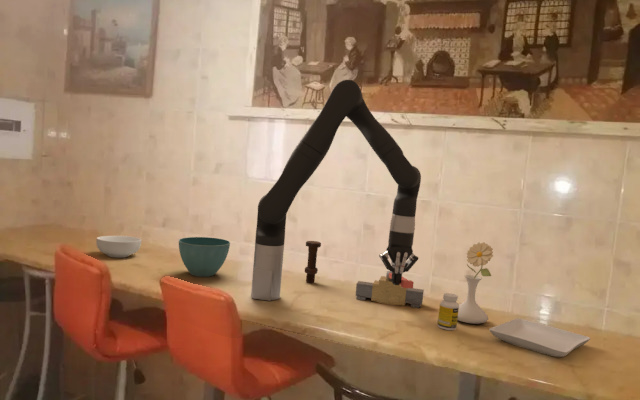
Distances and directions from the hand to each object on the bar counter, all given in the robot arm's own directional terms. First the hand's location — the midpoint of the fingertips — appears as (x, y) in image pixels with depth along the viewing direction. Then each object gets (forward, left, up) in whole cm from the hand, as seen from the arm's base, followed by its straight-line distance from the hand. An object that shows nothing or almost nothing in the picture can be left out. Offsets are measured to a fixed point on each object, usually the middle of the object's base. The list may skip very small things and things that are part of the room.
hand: (395, 284), depth 175 cm
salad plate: (-11, -41, -9) cm, 44 cm away
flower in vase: (+1, -23, -9) cm, 25 cm away
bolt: (+24, +33, -9) cm, 41 cm away
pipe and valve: (+12, +3, -9) cm, 15 cm away
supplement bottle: (-9, -16, -9) cm, 21 cm away
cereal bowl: (+25, +112, -9) cm, 115 cm away
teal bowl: (+14, +71, -9) cm, 72 cm away
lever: (+6, 0, -1) cm, 6 cm away
